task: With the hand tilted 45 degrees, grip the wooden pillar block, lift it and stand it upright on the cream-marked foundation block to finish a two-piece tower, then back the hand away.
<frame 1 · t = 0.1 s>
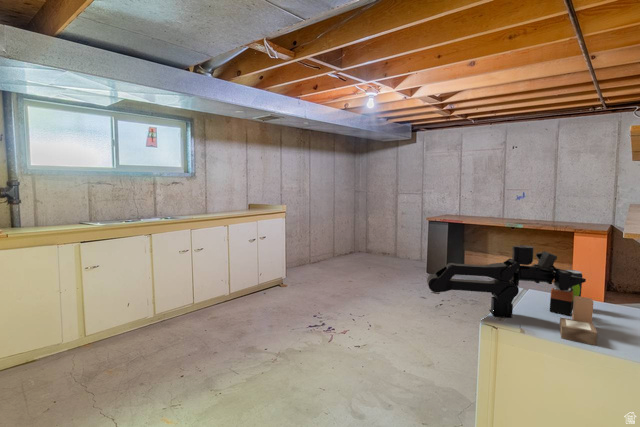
hand: (578, 276, 126), 17 cm above the table, tool horizontal, fingers open, 9 cm apart
beverage can: (570, 307, 142), on the table
pillar block: (581, 326, 122), on the table
battery: (560, 313, 135), on the table
foundation block: (576, 336, 114), on the table
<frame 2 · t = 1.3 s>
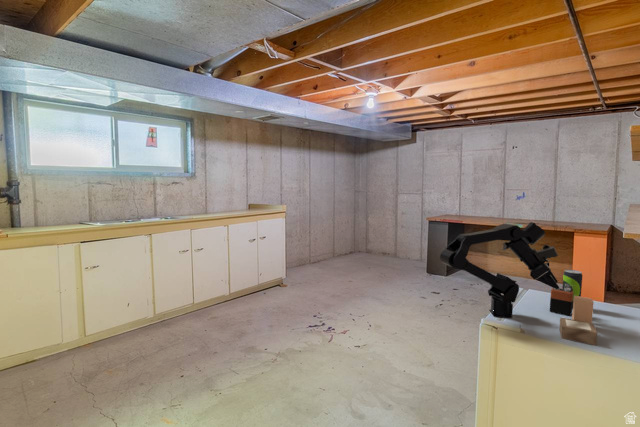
hand: (557, 285, 125), 13 cm above the table, tool tilted 45°, fingers open, 9 cm apart
nothing on the table moved.
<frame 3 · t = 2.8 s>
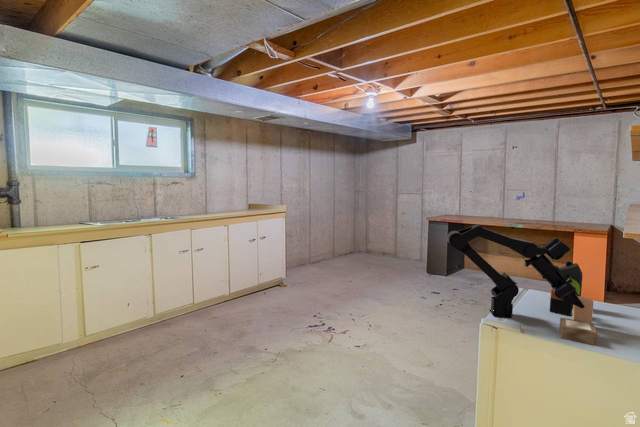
hand: (581, 303, 122), 8 cm above the table, tool tilted 45°, fingers open, 9 cm apart
nothing on the table moved.
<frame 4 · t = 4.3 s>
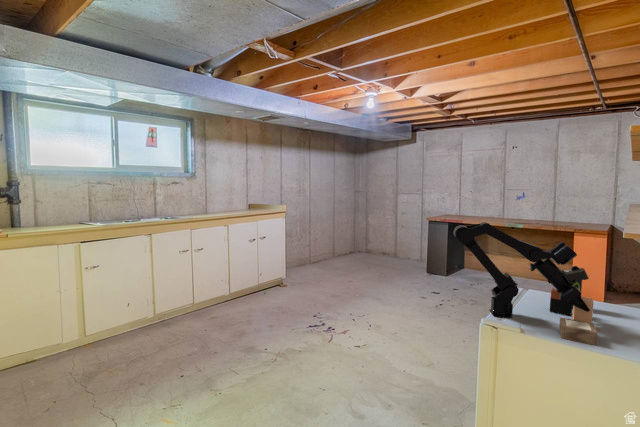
hand: (587, 308, 121), 7 cm above the table, tool tilted 45°, fingers closed on pillar block, 5 cm apart
pillar block: (581, 326, 122), on the table, touching gripper
everything else where it was.
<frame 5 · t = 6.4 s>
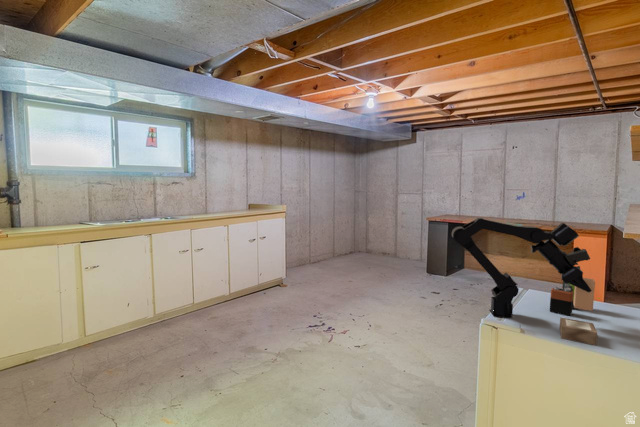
hand: (589, 289, 120), 13 cm above the table, tool tilted 45°, fingers closed on pillar block, 5 cm apart
pillar block: (582, 307, 122), point 7 cm above the table, touching gripper
everything else where it was.
when the fingers open (12 cm above the table, at t = 8.3 s): pillar block drops 1 cm, resting on foundation block.
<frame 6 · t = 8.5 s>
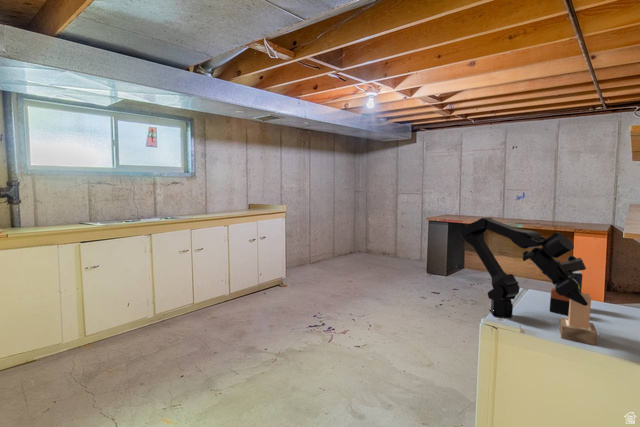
hand: (585, 301, 112), 12 cm above the table, tool tilted 45°, fingers open, 7 cm apart
pillar block: (577, 324, 113), point 4 cm above the table, touching foundation block
everything else where it was.
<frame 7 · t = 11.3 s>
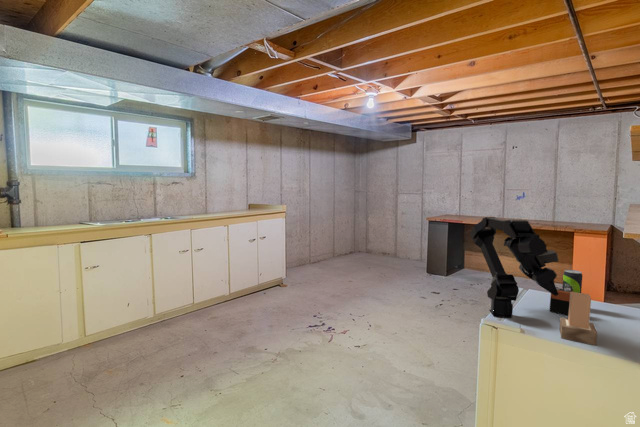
hand: (551, 291, 120), 13 cm above the table, tool tilted 35°, fingers open, 9 cm apart
nothing on the table moved.
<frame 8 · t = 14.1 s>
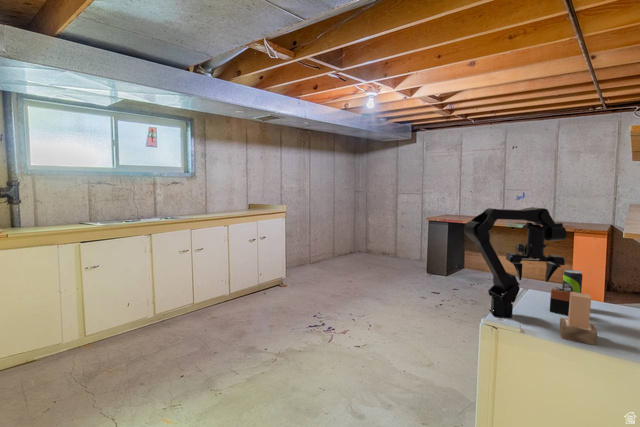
hand: (533, 280, 133), 13 cm above the table, tool pointing down, fingers open, 9 cm apart
nothing on the table moved.
at the end: pillar block 0.0 cm off-centre on the foundation block, point 4.0 cm above the foundation block's base; pillar block tilted 0°; the gripper is holding nothing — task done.
